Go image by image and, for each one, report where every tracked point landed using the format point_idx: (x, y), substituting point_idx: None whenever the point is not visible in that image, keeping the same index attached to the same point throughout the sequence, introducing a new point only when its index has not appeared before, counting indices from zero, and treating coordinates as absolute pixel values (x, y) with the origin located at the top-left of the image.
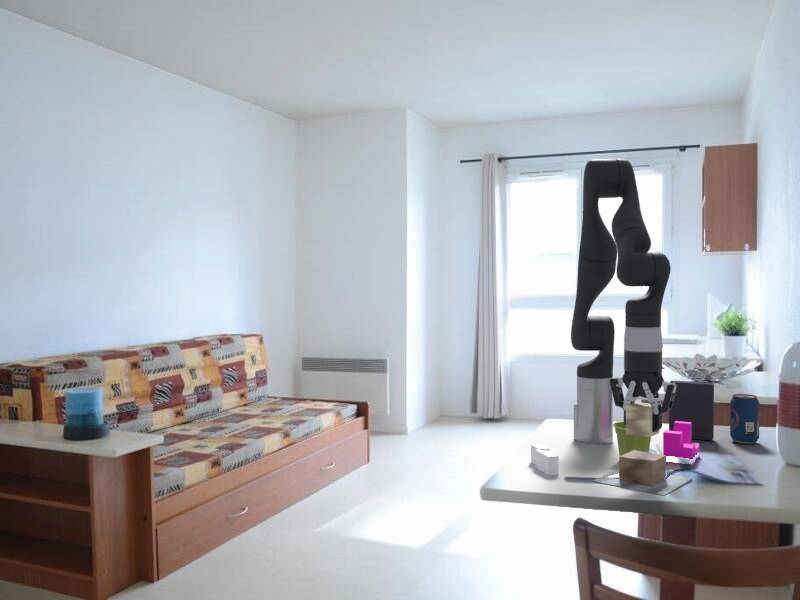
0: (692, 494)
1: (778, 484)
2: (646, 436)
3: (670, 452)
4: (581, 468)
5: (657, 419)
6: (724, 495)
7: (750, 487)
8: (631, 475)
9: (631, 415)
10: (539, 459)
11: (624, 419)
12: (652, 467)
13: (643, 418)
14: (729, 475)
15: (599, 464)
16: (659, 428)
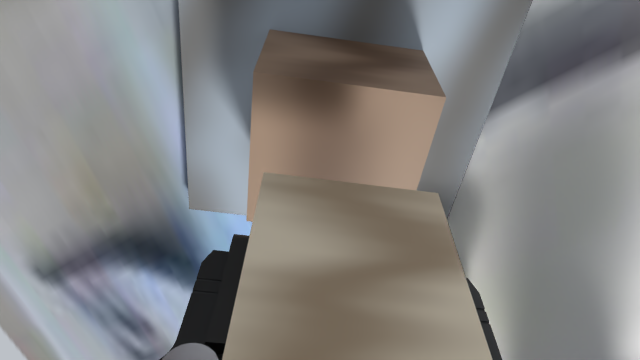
0: (134, 75)
1: (9, 294)
2: (283, 175)
3: None
4: (596, 183)
5: (202, 313)
6: (47, 123)
7: (43, 239)
8: (368, 54)
9: (419, 301)
10: None
11: (479, 312)
12: (257, 62)
13: (299, 277)
14: (146, 311)
15: (530, 252)
16: (208, 264)
